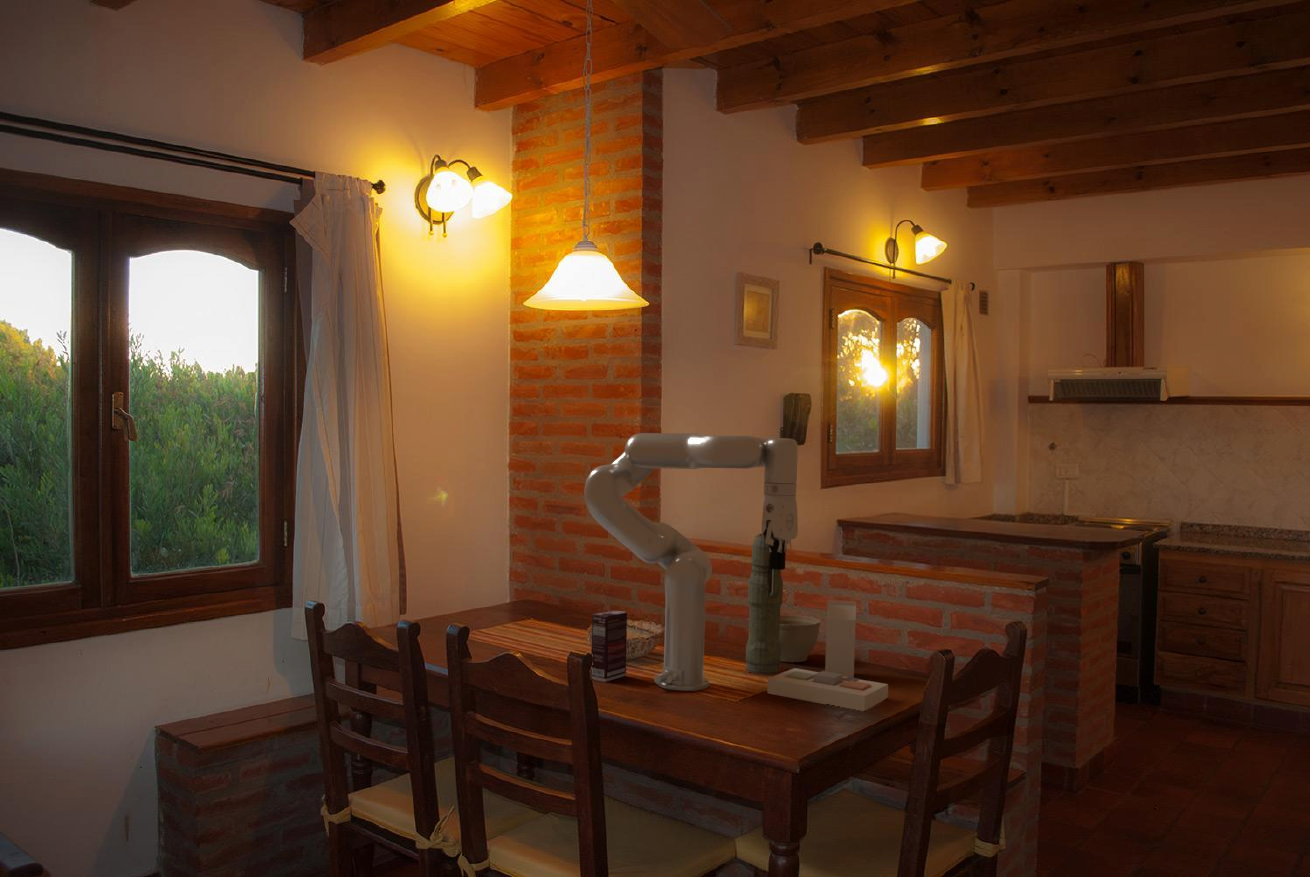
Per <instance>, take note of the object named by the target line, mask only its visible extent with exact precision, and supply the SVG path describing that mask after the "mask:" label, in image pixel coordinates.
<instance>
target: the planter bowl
mask: <svg viewBox="0 0 1310 877" xmlns="http://www.w3.org/2000/svg"><path fill="white" fill-rule="evenodd" d="M820 625H821V620H820V619H818V618H815V617H810V616H806V615H805V616H804V615H803V616H802V615H797V614H780V630H779V641H780V644H781V662H785V663H794V662H796V663H802V662H806V661H807V660H808V656H809V654H810V653H811V652H812V650H813V649H814V648H815V645H816V643H817V640H818V637H819V633H820Z"/></svg>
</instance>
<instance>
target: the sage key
mask: <svg viewBox="0 0 1310 877" xmlns="http://www.w3.org/2000/svg"><path fill="white" fill-rule="evenodd" d="M813 676H814V674H809V673H803V672H798V671H795V672H792V673H790V674H787V675H786V677H788V678H794V679H799V680H805V681H807V680H810V679H812V678H813Z"/></svg>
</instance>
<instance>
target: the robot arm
mask: <svg viewBox="0 0 1310 877" xmlns="http://www.w3.org/2000/svg"><path fill="white" fill-rule="evenodd" d="M798 449H799V448H798V441H797V440H795V439H793V438H782V437H771V438H769V439H768V438H764V437H763V438H762V437H756V436H750V435H705V434H704V435H703V434H698V433H683V432H681V433H679V432H678V433H677V432H676V433H675V432H674V433H664V432H663V433H661V432H660V433H659V432H654V433H653V432H642V433H641V432H639V433H636V434H632V436H630V437H629V438H628V440H627V441H626V442H625V446H624V452H623V453H622V454H621V455H620V456H619V457H618V458H616V459H615V460H614V461H613V462H612V463H611V464H603V465H602V464H601V465H600V466H597V467H595V468H594V469H592V470H591V471H590V473H589V474H588V476H587V478H586V481H585V483H584V491H583V492H584V495H583V496H584V501H585V505H586V507H587V509H588V512H589V514H590V515H591V517H592V518H593V519H594V520H595V521H596V522H597V523H598V524H599V525H600V526H601V527H602V528H603V529H604V530H605V531H606V532H608V533H609V534H610V535H612V536H613V537H614V538H615V539H616V540H617V541H618V542H619V543H621V544H622V545H623V546H625V547H626V548H627V549H628V550H629V551H630V552H632V553H633V554H634V555H635V556H636V557H637V558H638V559H640V560H641V561H642V562H644V563H647V564H658V565H659V566H661V567H662V568H663V569H664V570H665V572H664V594H665V596H664V598H665V601H664V604H665V607H664V608H665V609H664V648H663V649H664V650H663V666H662V669H661V670H662V672H661V673H658V674H656V675H654V677H653V681H654V683H656V685H657V686H658V687H660V688H663V689H667V690H669V691H670V690H671V691H678V692H694V691H695V692H696V691H701V690H705V689H708V688H709V687H710V680H709V679H708V678H706V677H704V663H705V662H704V661H705V660H704V657H705V656H704V655H705V630H706V629H705V628H706V584H707V582H708V581H709V580H710V578H711V576H712V574H713V572H712V571H713V566H712V560H711V559H710V558H709V557H710V556H708V555H707V553H705V551H703V550H702V549H700V547H699V546H697V544H694V543H693V542H692V541H691V540H689V539H688V538H687V537H686V536H684V535H683V534H682V532H681V533H680V532H679V530H677V529H675V527H673V526H671V525H669V524H668V523H665V522H657V521H655V522H654V521H652V520H651V519H648V518H647V517H646V516H645V515H643V514H642V512H640V511H638V510H637V508H635V507H633V506H632V505H631V504H630V503H628V502H627V501H625V500H624V498H623V497H625V496H626V495H627V494H629V493H630V492H631V491H632V490H633V489H635V488H637V486H638V485H639V484H640V483H641V482H642V481H643V480H645V479H646V478H647V477H648V476H649V475H650V474H651V473H652V472H653V471H655V469H669V470H670V469H673V470H674V469H676V470H677V469H678V470H682V469H683V470H698V469H740V470H741V469H753V468H759V467H760V468H761V467H762V468H763V467H764V476H763V478H764V481H763V497H764V499H763V507H762V517H761V518H762V519H761V534H762V536H763V538H765V539H766V541H765V544H766V545H768V546H769V551H770V569H776V570H780V571H783V570H785V569H786V555H787V554H786V552H787V550H788V544H790V543H791V541H792V539H795V538H796V537H797V536H798V532H799V531H798V529H799V528H798V527H799V526H798V504H797V476H798V475H797V474H798V473H797V471H798V453H799V452H798Z"/></svg>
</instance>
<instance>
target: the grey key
mask: <svg viewBox="0 0 1310 877" xmlns="http://www.w3.org/2000/svg"><path fill="white" fill-rule="evenodd" d="M818 672H819V673H816V674H814V676H813V682H816V683H822V684H827V685H833V686H835V685H837V684H840V683H842V674H838V673H832V672H826V671H825V670H821V671H818Z"/></svg>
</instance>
